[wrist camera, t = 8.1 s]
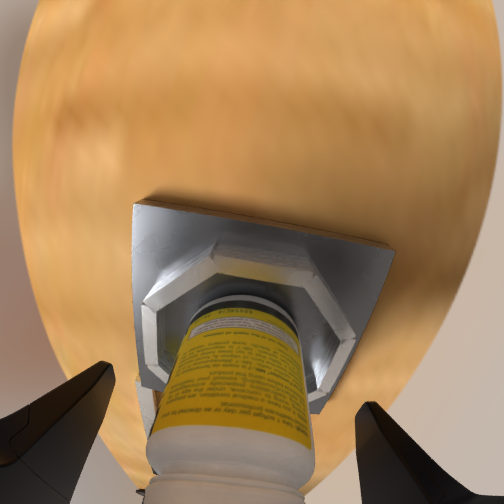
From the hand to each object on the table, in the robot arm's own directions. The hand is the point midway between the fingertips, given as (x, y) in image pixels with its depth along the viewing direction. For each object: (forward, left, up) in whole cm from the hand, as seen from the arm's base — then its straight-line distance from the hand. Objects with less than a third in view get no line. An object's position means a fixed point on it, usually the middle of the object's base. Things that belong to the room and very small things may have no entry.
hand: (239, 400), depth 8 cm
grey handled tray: (-5, -6, -4) cm, 9 cm away
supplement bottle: (0, 0, -4) cm, 4 cm away
